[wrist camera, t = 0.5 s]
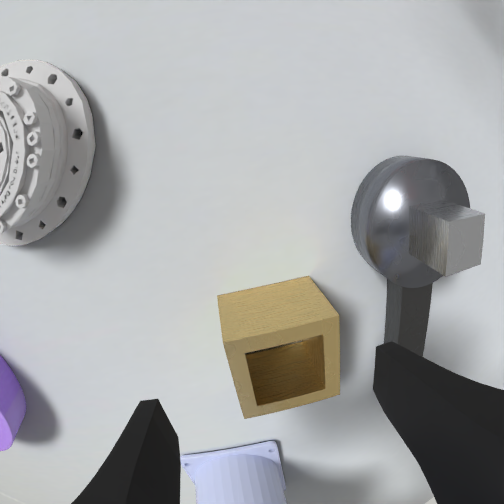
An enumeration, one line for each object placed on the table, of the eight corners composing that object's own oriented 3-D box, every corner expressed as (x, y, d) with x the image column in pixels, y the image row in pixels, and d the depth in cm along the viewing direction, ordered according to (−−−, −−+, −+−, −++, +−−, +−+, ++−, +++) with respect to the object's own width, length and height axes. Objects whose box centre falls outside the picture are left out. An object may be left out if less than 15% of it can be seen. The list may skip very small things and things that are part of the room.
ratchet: (425, 379, 23) (459, 420, 18) (351, 408, 23) (379, 459, 17) (443, 152, 17) (510, 163, 11) (345, 161, 16) (406, 173, 11)
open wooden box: (314, 348, 20) (339, 394, 16) (234, 367, 19) (244, 418, 15) (308, 275, 18) (339, 315, 14) (217, 295, 17) (223, 342, 13)
